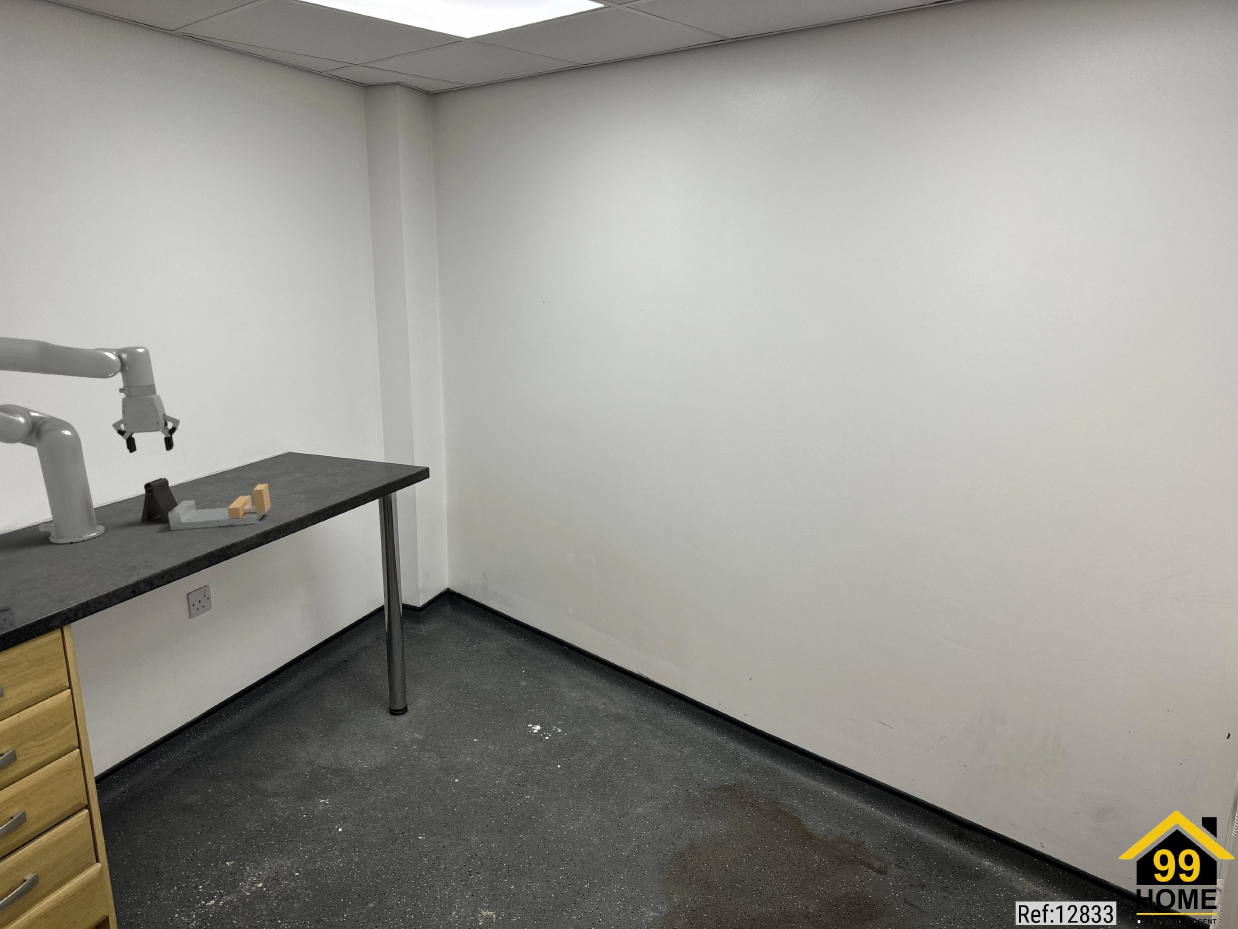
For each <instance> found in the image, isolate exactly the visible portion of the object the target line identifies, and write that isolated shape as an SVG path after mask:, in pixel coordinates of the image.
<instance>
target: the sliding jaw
mask: <svg viewBox="0 0 1238 929" xmlns="http://www.w3.org/2000/svg"><path fill="white" fill-rule="evenodd" d="M252 493H253V499H254V504H253V505H252V497H251V495H239V496H238V498H236V499H235V500H234V501H233V502H232V503H231V504H230V505H229V506H228V507H227V508H228V514H229V518H241V516H242V515H243V514H244V513H249V512H256V513H265V514H266V513H267V512H268V511H269V509H270V508H271V507H272V506H271V499H270V492H269V485H268V483H261V484H260V483H259V484H257V485H256V486H255V487H254V489H253V490H252Z"/></svg>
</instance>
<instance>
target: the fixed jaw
mask: <svg viewBox="0 0 1238 929" xmlns="http://www.w3.org/2000/svg"><path fill="white" fill-rule="evenodd" d="M195 510H197V508H196V502H195V499H194V500H193V499H192V500H183V501H181V502H180V503H179V504H178V506H176V507H175V508H174V509H173V510H171V511H170V512H169V513H168V516H169V522H170V523H182V522H183V521H184V520H185V519H186V518H187V517H188V516H190V515H191V514H192V513H193V512H194V511H195ZM170 523H169V524H170Z"/></svg>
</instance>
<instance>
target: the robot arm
mask: <svg viewBox="0 0 1238 929" xmlns="http://www.w3.org/2000/svg"><path fill="white" fill-rule="evenodd" d="M152 366H153V365H152V360H151V355H150V351H149V349H148V348H147V347H145V346H141V345H139V346H138V345H137V346H125V347H121V348H114V347H113V348H107V347H106V348H105V347H97V348H92V349H91V348H79V347H72V346H71V347H70V346H64V345H59V344H56V343H55V344H54V343H51V342H48V341H45V340H44V341H43V340H39V339H38V340H37V339H27V338H17V337H16V338H15V337H8V336H6V337H5V336H0V371H5V372H6V371H8V372H21V373H28V374H29V373H31V374H41V375H52V376H53V375H54V376H55V375H57V376H65V377H67V376H69V377H77V378H89V379H110V378H113V377H115V376H117V375H118V374H119V373H120V375H121V379H122V385H123V386H122V387H121V388H120V387H119V389H118V392H119V393H120V394H123V395H124V397H122V398H121V413H122V414H121V415H122V416H121V417H122V418H121V419H119V420H117V421H116V422H114V423H112V425H111V426H112V428H113V429H114V430H115V431H116V433H117V434H118V435H119V436H120V437H122V439H123V440H125V445H126V449H127V450H128V453H129V454H133V453H134V452H136V451H137V444H136V439H135V437H133V435H134V434H139V433H156V432H160V433H161V434H163V435H164V437H163V441H164V447H165V451H166V452H169V451H172V450H173V449H174V446H175V444H174V439H173V435H174V434H175V433H176V431H178V428H179V426H180V422H181V421H180V419H178V418H175V417H173V416H169V415H167V413H166V412H167V411H166V409H165V406H164V402H163V400H162V397H161V396H160V394H158V393H157V387H156V382H155V375H154V372H153V367H152ZM168 422H169V423H171V424H172V426H171V428H169V426H168V425H169V423H168ZM122 425H123V428H122ZM80 437H81V436H80V435H79V433H78V430H76V428H75V426H73V425H72V424H71V422H68V421H67V420H64V419H62V418H58V417H56V416H52V415H50V414H46V413H44V412H41V411H37V410H34V409H31V408H28V407H24V406H21V405H17V404H11V403H4V404H0V443H2V444H13V445H14V444H22V445H26V446H29V447H32V448H36V451H37V454H38V459H39V463H40V464H39V465H40V469H41V473H42V478H43V482H44V486H45V491H46V495H47V500H48V504H49V510H50V514H51V518H52V522H51V523H41V524H39V526H38V530H39V533H40V534H41V533H48V532H49V533H50V535H49V541H50V542H51V543H53V544H71V543H70V542H73V543H78V542H83V540H84V541H88V540H92V539H93V538H94V537H95V538H96V537H99V536H101V535H103V534H104V533H105V532H106V529H105V526H104V525H101V524H100V525H99V524H97V518H96V514H95V509H94V504H93V498H92V494H91V489H90V484H89V480H88V475H87V470H86V464H85V459H84V458H85V457H84V452H83V445H82V440H81V438H80Z"/></svg>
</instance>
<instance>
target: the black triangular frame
mask: <svg viewBox="0 0 1238 929" xmlns="http://www.w3.org/2000/svg"><path fill="white" fill-rule="evenodd" d="M143 486H144V487H143V488H144V491H145V492H144V499H143V506H142V508H143V509H142V514H141V523H142V522H145V523H144V524H161V523H163V524H167V525H168V524H169V525H170V522H169V516H168V513H169V512H170V511H171V510H173V509H174V508H175V507H176V506H178V505H179V504H178V503H177V501H176V499H175V497H174V495H173V492H172V490H171V488H170V482H169V480H168V479H167V478H166V477H161V478H160V477H159V478H157V479H154V480H151V481H148V482H146V483H145V484H144V485H143ZM163 524H162V525H163Z"/></svg>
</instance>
